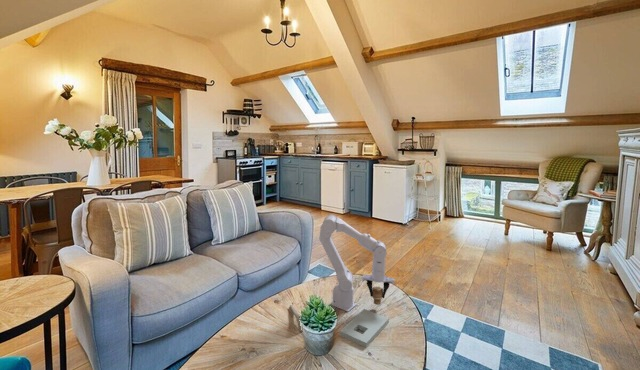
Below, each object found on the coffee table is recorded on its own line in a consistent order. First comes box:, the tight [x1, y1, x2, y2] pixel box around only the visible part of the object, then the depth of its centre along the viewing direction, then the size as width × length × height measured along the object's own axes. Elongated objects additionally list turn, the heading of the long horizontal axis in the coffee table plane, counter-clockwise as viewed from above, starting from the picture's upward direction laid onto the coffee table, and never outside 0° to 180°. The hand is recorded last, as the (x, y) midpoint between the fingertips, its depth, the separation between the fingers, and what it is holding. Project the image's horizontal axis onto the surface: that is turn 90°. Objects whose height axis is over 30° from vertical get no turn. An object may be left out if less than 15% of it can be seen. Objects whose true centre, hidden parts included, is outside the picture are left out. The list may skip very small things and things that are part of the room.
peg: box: [371, 286, 384, 306], centre depth 144 cm, size 5×5×7 cm
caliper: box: [289, 304, 303, 333], centre depth 137 cm, size 20×1×6 cm, turn 18°
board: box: [339, 308, 390, 348], centre depth 130 cm, size 12×20×2 cm, turn 143°
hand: (377, 296), depth 144 cm, fingers closed on peg, 5 cm apart
